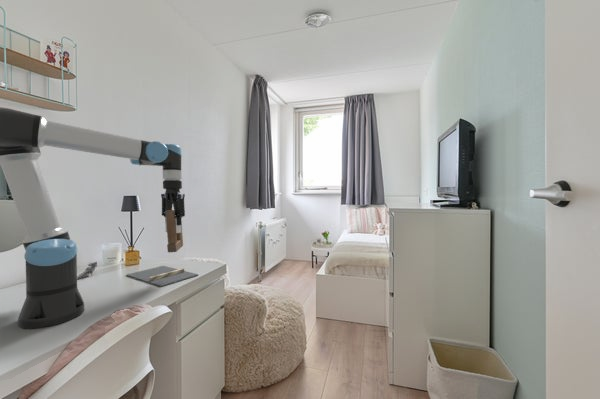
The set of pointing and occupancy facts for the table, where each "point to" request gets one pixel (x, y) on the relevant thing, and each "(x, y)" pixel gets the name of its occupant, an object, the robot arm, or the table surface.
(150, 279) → the kerb
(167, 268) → the mat
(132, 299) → the table surface
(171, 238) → the brown wooden bracket
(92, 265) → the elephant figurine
